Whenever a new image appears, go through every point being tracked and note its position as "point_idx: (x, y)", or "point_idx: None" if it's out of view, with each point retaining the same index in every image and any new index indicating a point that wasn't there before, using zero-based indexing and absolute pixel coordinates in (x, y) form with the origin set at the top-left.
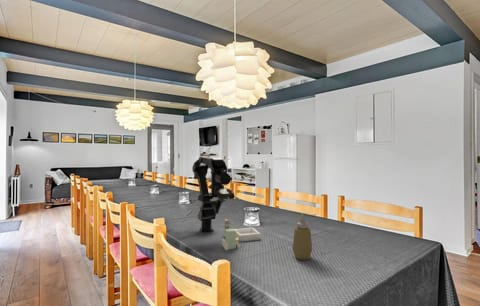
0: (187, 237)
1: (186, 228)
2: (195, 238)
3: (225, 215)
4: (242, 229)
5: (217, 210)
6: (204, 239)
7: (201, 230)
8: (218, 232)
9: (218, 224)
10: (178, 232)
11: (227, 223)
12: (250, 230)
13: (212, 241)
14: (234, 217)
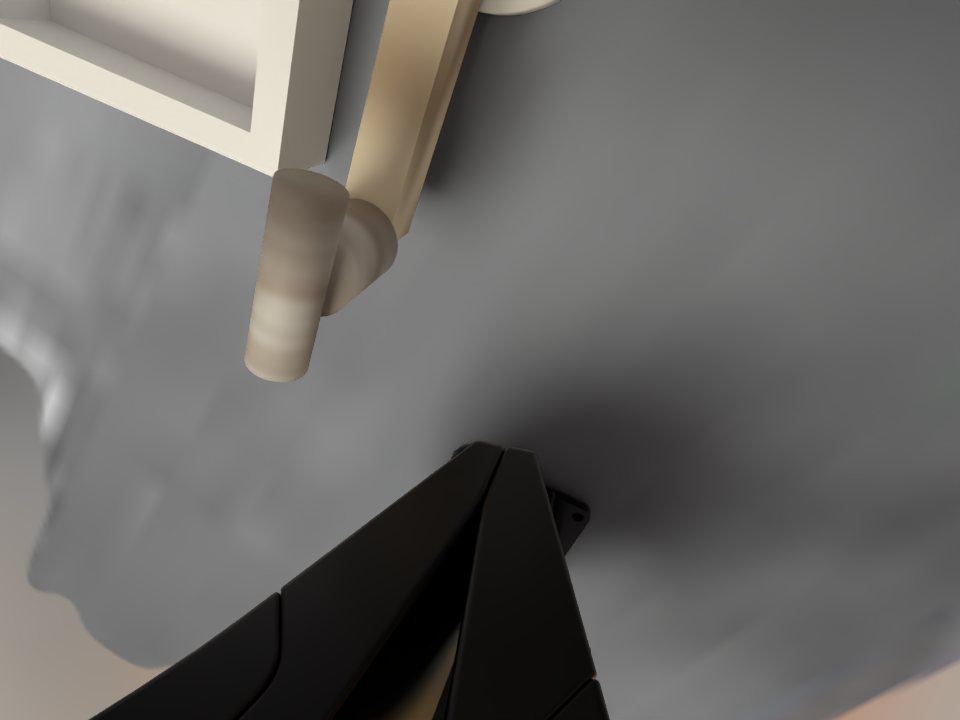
0: (880, 494)
1: (627, 680)
2: (840, 398)
3: (138, 657)
4: (138, 80)
5: (470, 523)
6: (783, 279)
7: (574, 536)
8: (429, 379)
9: (291, 557)
10: (794, 664)
11: (335, 189)
12: (35, 26)
13: (772, 106)
14: (85, 584)
